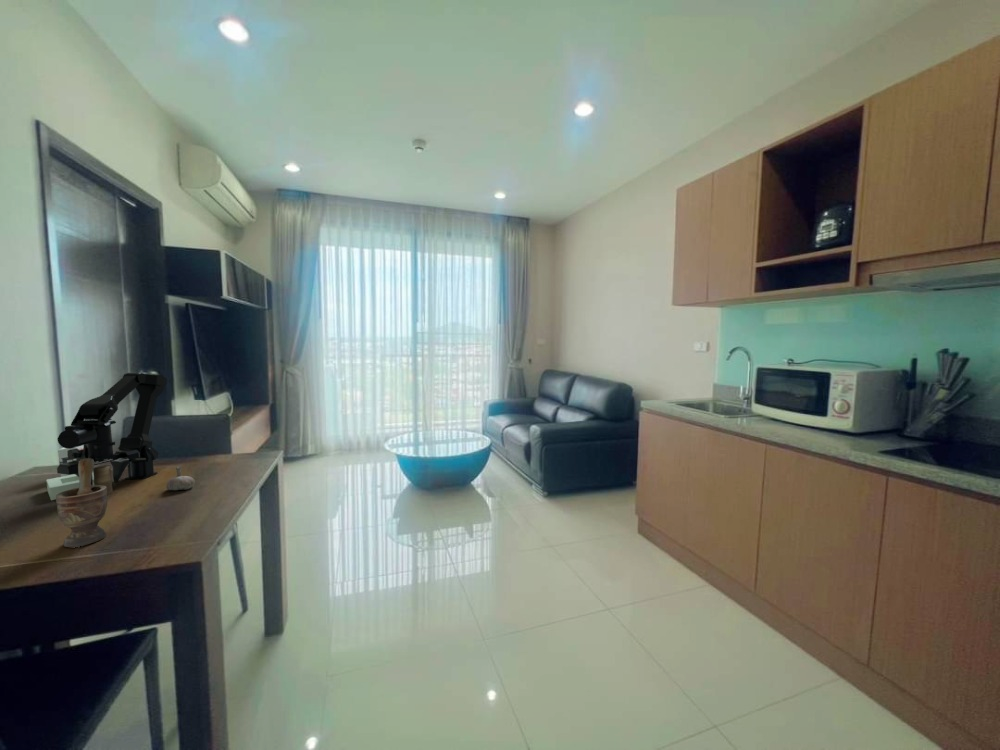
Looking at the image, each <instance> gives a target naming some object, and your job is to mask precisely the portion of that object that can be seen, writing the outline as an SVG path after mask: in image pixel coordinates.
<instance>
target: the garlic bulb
mask: <svg viewBox="0 0 1000 750" xmlns="http://www.w3.org/2000/svg"><path fill="white" fill-rule="evenodd" d="M176 474H177V475H176V476H175V477H172V478H170V479H169V480H167V484H166V489H167V490H168V491H178V490H183V491H184V490H188V489H191V488H193V487H194V486H195V484H196V481H195V479H194V478H193V477H192V476H187V475H182V471H181V467H180V466H178V467H176Z"/></svg>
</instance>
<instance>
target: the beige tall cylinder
mask: <svg viewBox="0 0 1000 750" xmlns="http://www.w3.org/2000/svg"><path fill="white" fill-rule="evenodd" d="M111 469H112V468H111V465H109V464H108V465H107V464H106V465H98V466H96V467H95V466H94V469H93V477H94V485H97V486H98V485H102V486H106V488H107V495H109V494H112V493H113V483H112V470H111Z"/></svg>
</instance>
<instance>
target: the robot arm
mask: <svg viewBox="0 0 1000 750" xmlns="http://www.w3.org/2000/svg"><path fill="white" fill-rule="evenodd" d="M167 382H168V380H167V378H166V377H165V376H164V375H163V374H159V373H158V374H157V373H156V374H154V373H153V374H152V373H150V374H148V373H144V372H143V373H142V372H127V373H124V374H123V376H122V378H120V379H119V380H118V381H117V382H116V383H114V384H113V385H112V386H111V387H110V388H109V389H107V391H105V392H104V393H103V394H101V395H100V396H97V397H94V398H91V399H88V400H87V401H86V402H83V403H82V404H81V406H80V407H79V408H78V411H77V412H76V414H75V416H74V418H73V419H72V421H71V423H70V425H66V426H64V430H63V431H61V432H60V433H59V434H58V437H57V442H58V445H59V446H60V447H61V448H63V447H64V448H67V449H71V448H75V447H78V446H82V445H84V449H82V450H78V448H76V449H71V450H68V451H67V452H68V459H69V460H72V459H76V460H77V461H72V462H68V463H63V464H60V465H58V466H57V467H56V470H57V474H59V475H60V474H66V475H72V474H75V475H77V476H78V477H79V473H78V464H79V461H80V460H82V459H85V458H91V459H93V460H94V466H97V465H98V466H99V465H101V464H104V463H105V464H106V463H110V464H111V466H112V479H113V482H114V483H115V484H116V483H118V482H119V481H120V478H121V476H122V475H123V473H124V472H125V469H126V468H127V475H128V476H125V480H144V479H146V478H150V477H151V476H154V475H157V474H158V471H154V461H155V460H157V459H158V457H159V451H158V450H157V449H155V448H154V447H153V440H152V438H151V437H150V435H149V433H150V429H151V424H152V419H153V416H154V411H155V407H156V403H157V400H158V399H157V398H158V397H159V396H160V395H161V394H163V392H164V391H165V388H166V386H167ZM134 390H135V391H136V392H137V393H138V400H137V404H136V409H135V414H134V417H133V420H132V426H131V429H130V433H129V434H128V435H127V436H126V437H125V436H123V437H121V439H120V440H119V441H120V442H119V445H118V446H119V447H118V448H117V449H118V450H116V451H115V452H114V450H113V449H114V447H113V446H115V445H116V441H113V436H112V425H115V424H116V423H117V421H116V420H114V419H112V417H114V416H115V414H116V412H117V411H118V410H119V404H120V403H121V402H122V401H123V400H124V399H125V398H126V397H127V396H128V395H130V393H132V392H133V391H134ZM92 484H93V473H92V477H91V486H92Z"/></svg>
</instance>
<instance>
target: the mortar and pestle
mask: <svg viewBox="0 0 1000 750" xmlns="http://www.w3.org/2000/svg"><path fill="white" fill-rule="evenodd" d="M94 463H95V462H94V460H93V459H91V458H85V459H82V460H80V462H79V464H78V473H79V488H74V489H70V490H67V491H64V492H61V493H59V494H57V495H56V499H55V500H56V501H55V502H56V509H57V515H58V518H59V520H60V523H61V524H62V525H63V526H64V527H66V528H68V529H70V531H71V533H70V534H68V535H67V536H66V537H65V538H64V540H63V543H62V544H63V547H65V548H75V547H78V548H81V547H84V546H88V545H90V544H93V543H96V542H98V541H100V540H102V539H104V538H105V537H106V536H107V532H106V531H105V529H103V528H102V527H100V526H99V525H98V524H99V522H100V521H102V519H103V518H104V517H105V515H106V511H107V508H108V494H107V488H106V486H102V485H98V486H97V485H94V486H91V477H92V473H93V469H94V468H95V465H94ZM80 546H81V547H80ZM75 549H76V548H75Z"/></svg>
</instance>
